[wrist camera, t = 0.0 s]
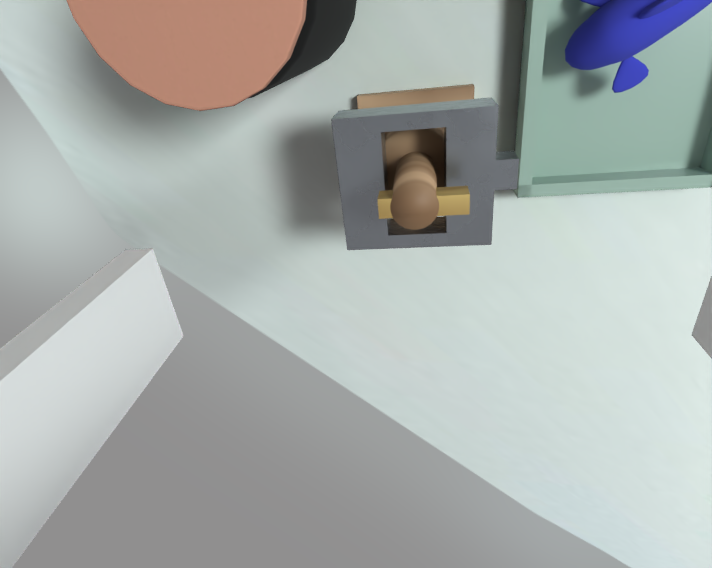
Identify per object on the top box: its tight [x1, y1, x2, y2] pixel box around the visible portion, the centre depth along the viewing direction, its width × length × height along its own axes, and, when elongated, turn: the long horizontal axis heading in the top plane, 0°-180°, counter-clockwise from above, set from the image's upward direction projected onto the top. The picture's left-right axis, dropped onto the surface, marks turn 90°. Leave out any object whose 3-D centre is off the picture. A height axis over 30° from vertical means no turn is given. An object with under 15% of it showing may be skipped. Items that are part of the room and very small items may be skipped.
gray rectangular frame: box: [331, 98, 519, 250], centre depth 31 cm, size 9×12×3 cm
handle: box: [357, 84, 474, 230], centre depth 32 cm, size 9×9×14 cm
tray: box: [513, 0, 712, 198], centre depth 33 cm, size 16×15×2 cm
